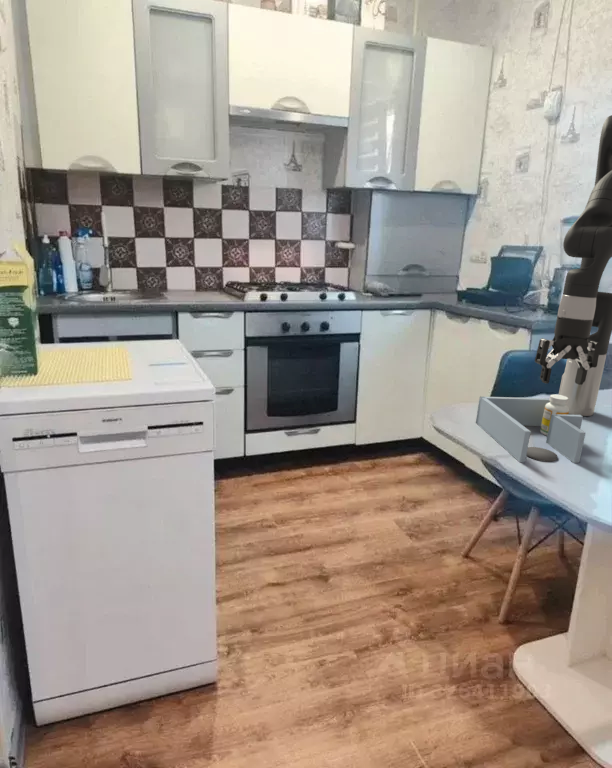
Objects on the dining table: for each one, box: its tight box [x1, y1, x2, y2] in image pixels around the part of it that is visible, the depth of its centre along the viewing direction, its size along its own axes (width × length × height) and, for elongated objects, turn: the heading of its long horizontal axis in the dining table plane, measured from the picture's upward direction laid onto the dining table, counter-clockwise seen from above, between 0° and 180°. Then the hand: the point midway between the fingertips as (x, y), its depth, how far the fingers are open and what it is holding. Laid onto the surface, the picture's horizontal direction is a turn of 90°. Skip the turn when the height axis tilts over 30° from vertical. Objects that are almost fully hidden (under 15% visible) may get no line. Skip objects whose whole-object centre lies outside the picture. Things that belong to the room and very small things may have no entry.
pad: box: [526, 446, 558, 463], centre depth 119 cm, size 7×7×1 cm
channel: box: [475, 396, 586, 464], centre depth 126 cm, size 24×19×7 cm
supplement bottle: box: [539, 393, 569, 437], centre depth 131 cm, size 5×5×10 cm
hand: (561, 383), depth 129 cm, fingers open, 8 cm apart
